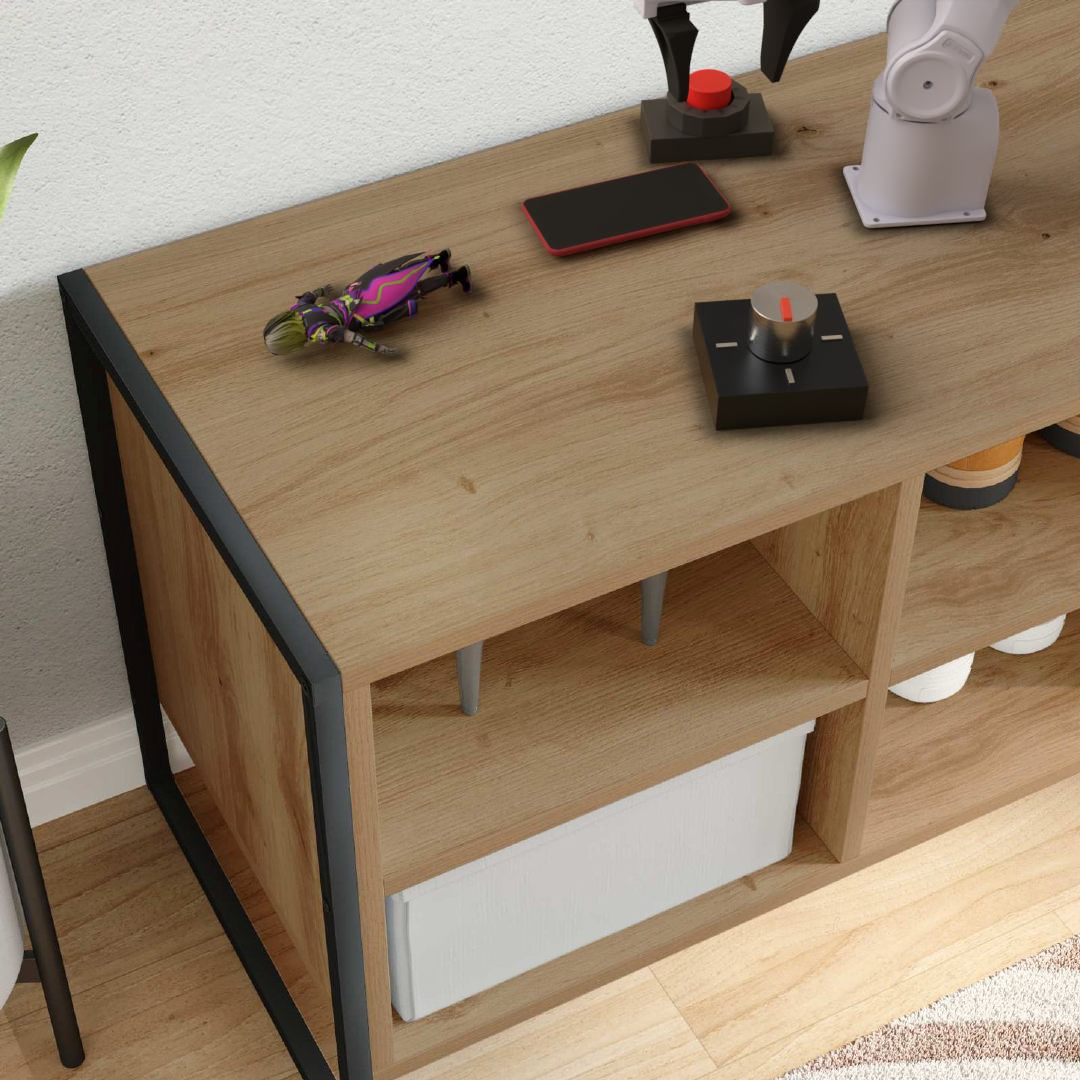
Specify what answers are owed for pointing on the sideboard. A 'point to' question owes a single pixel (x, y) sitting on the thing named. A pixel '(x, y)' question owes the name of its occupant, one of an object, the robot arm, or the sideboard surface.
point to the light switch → (707, 128)
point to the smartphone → (624, 208)
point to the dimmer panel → (777, 370)
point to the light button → (709, 89)
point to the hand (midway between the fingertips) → (724, 85)
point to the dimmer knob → (781, 321)
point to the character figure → (363, 305)
